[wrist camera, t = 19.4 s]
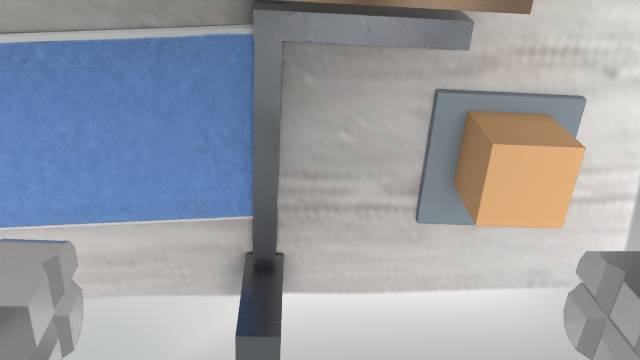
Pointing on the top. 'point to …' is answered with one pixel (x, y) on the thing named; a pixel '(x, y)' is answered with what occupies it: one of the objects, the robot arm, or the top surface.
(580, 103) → the slate mat
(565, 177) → the orange block
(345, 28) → the grey u-shaped bracket
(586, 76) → the top surface
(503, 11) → the walnut shelf
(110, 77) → the blue flat slab
